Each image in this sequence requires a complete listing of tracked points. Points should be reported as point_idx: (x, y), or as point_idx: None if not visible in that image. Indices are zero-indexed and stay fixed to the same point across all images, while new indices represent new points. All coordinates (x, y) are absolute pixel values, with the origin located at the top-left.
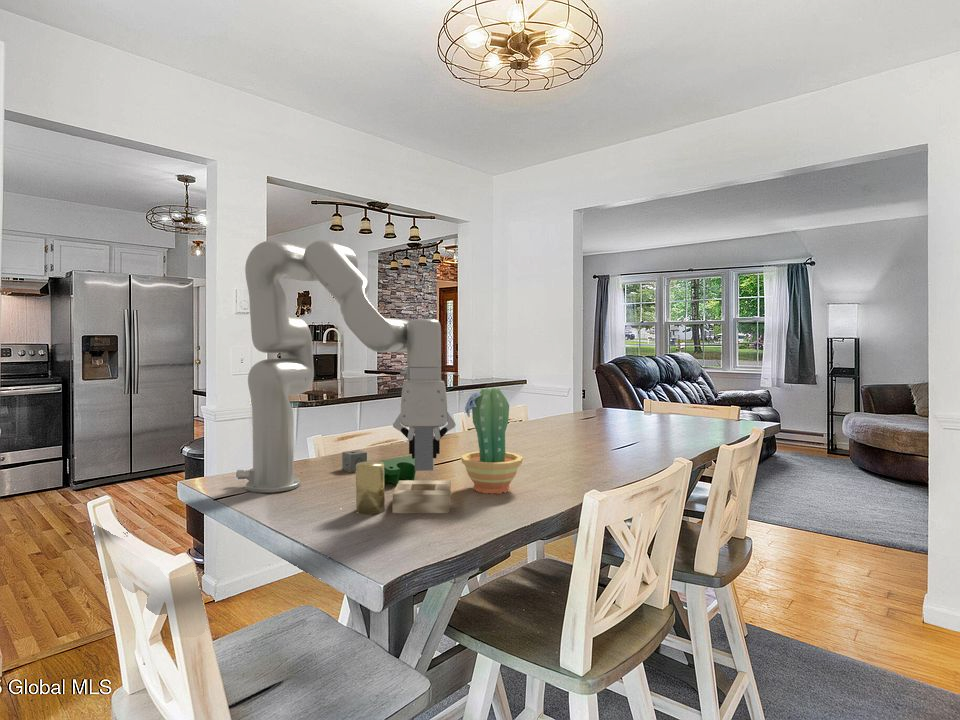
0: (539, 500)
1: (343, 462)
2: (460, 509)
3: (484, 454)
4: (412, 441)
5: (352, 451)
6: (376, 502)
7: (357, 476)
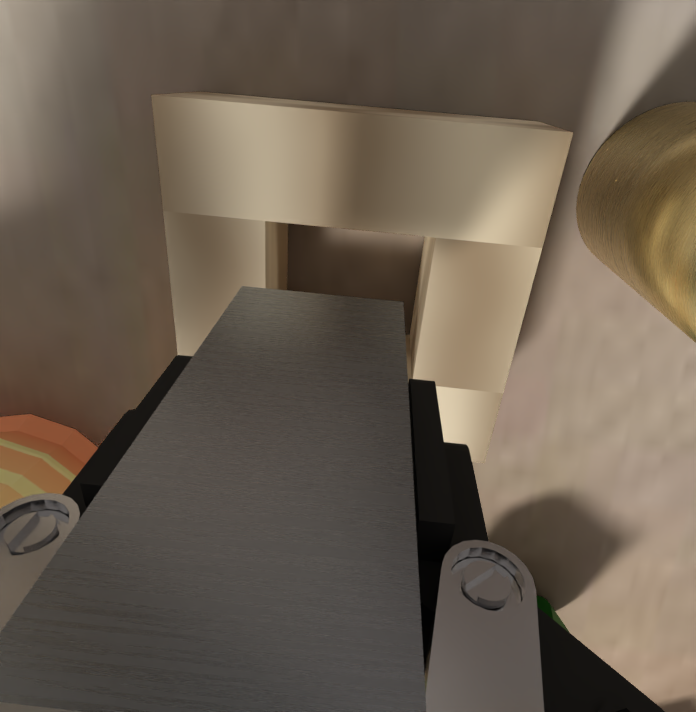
0: None
1: None
2: (143, 168)
3: None
4: (445, 512)
5: None
6: (675, 118)
7: None
